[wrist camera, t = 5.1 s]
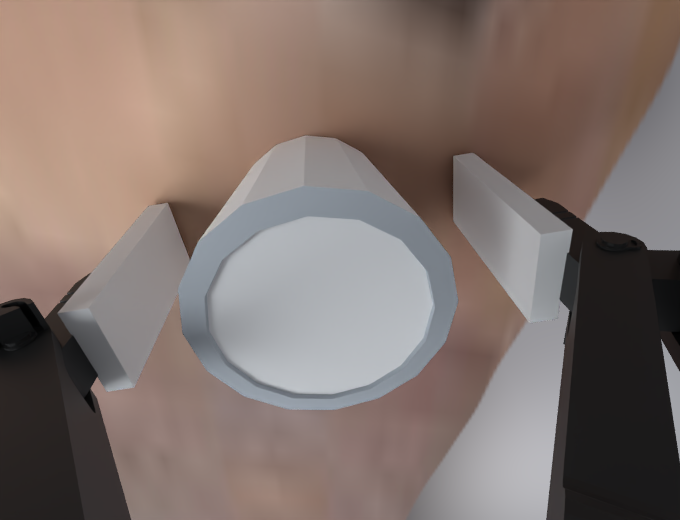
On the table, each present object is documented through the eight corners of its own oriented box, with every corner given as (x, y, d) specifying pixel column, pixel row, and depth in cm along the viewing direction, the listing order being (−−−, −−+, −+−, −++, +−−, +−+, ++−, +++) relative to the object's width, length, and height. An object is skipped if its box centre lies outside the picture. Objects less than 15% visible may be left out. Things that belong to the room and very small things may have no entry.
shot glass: (204, 127, 14) (132, 206, 8) (400, 107, 14) (471, 169, 8) (245, 289, 18) (215, 428, 12) (401, 271, 18) (452, 399, 12)
